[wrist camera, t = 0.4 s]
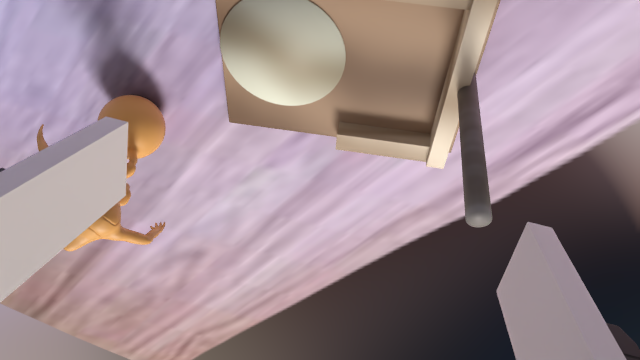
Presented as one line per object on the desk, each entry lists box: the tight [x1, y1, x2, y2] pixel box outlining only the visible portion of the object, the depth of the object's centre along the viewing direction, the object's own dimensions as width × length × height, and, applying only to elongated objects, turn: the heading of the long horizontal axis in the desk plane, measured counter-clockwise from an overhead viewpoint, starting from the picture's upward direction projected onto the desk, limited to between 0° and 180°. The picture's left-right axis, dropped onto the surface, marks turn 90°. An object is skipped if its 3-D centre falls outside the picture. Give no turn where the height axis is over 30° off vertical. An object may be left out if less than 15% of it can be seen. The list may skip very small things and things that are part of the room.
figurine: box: [37, 95, 165, 251], centre depth 27 cm, size 8×6×12 cm
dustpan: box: [216, 0, 500, 227], centre depth 23 cm, size 11×14×10 cm
